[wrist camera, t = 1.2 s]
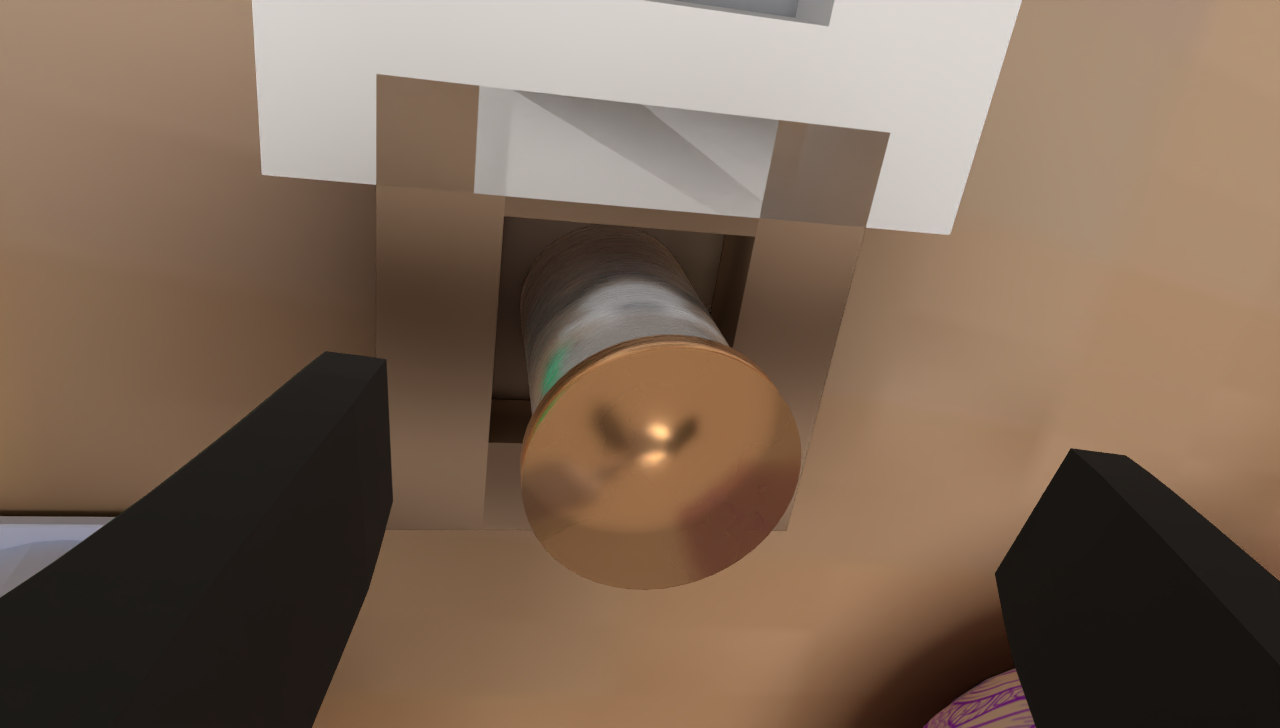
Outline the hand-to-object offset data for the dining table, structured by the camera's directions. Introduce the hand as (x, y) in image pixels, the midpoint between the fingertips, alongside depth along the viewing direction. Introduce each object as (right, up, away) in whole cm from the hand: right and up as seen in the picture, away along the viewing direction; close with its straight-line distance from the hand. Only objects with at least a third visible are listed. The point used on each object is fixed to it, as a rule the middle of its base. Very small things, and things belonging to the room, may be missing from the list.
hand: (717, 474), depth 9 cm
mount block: (-2, +3, +11) cm, 11 cm away
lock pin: (-2, +3, +11) cm, 11 cm away
